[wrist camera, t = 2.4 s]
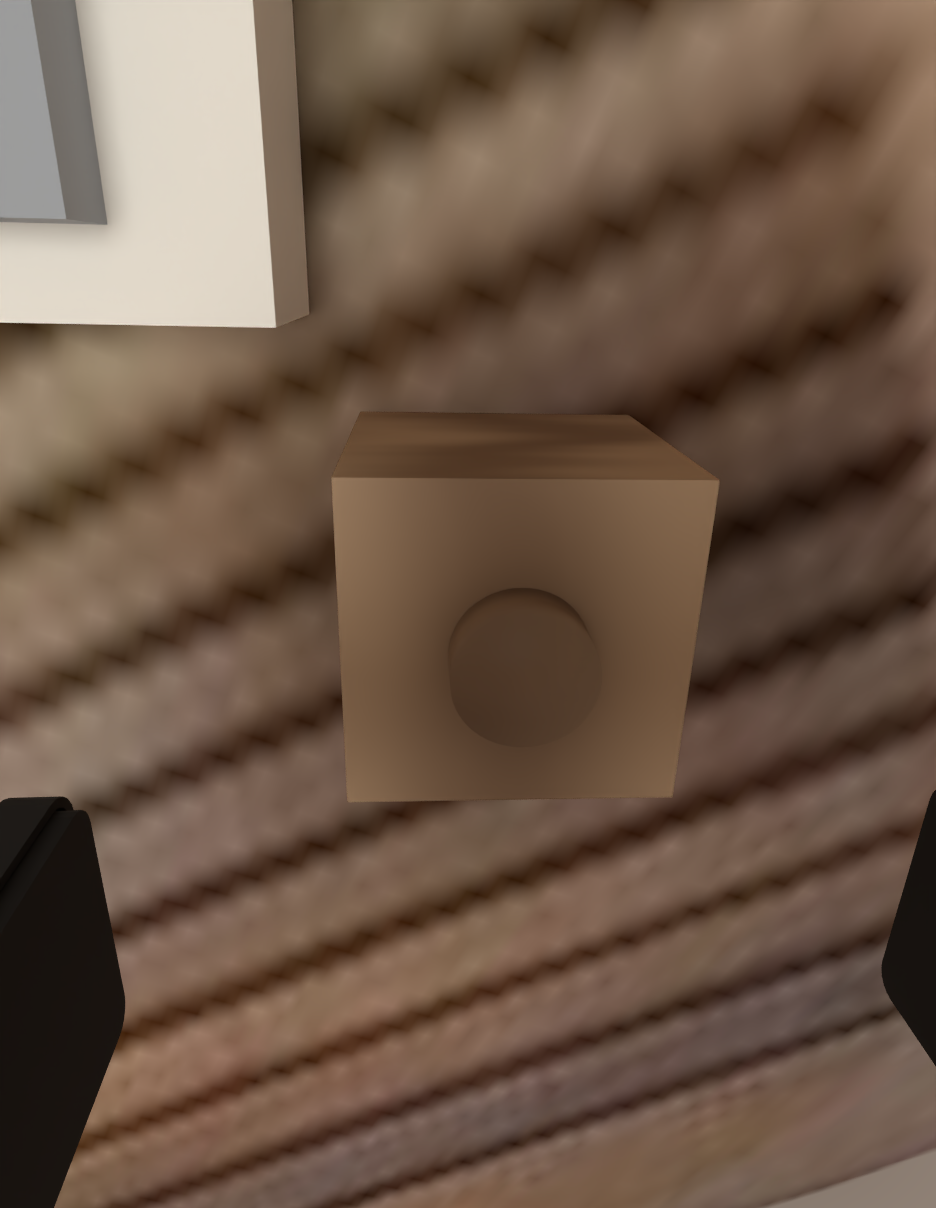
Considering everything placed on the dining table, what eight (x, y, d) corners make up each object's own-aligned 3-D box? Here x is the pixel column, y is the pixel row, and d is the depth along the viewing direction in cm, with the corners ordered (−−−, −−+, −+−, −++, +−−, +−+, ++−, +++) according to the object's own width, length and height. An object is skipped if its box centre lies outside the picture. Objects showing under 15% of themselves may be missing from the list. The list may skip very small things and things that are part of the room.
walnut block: (627, 414, 18) (743, 497, 11) (604, 651, 20) (688, 832, 14) (361, 411, 17) (323, 495, 11) (368, 652, 20) (342, 839, 13)
